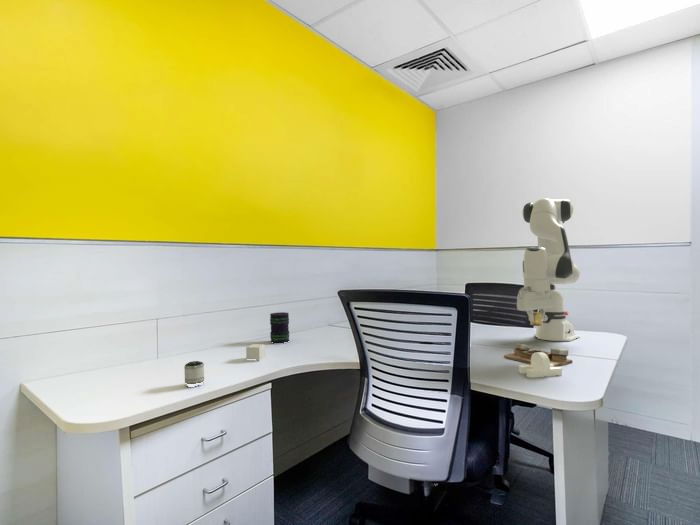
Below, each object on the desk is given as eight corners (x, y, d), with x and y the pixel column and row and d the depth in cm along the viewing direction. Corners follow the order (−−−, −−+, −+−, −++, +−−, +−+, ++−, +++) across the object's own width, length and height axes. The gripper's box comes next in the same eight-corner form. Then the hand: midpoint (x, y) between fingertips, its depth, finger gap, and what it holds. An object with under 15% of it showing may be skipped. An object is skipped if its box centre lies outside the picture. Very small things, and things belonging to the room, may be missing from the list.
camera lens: (203, 381, 137) (202, 359, 137) (205, 386, 132) (205, 363, 132) (184, 384, 134) (183, 361, 134) (185, 389, 129) (185, 365, 129)
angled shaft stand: (551, 357, 155) (550, 347, 155) (568, 359, 152) (567, 348, 152) (550, 360, 152) (550, 349, 152) (567, 361, 149) (567, 351, 149)
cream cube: (246, 361, 164) (246, 347, 164) (252, 357, 170) (252, 344, 170) (259, 361, 163) (259, 347, 163) (265, 358, 169) (265, 344, 169)
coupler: (544, 325, 155) (544, 312, 155) (538, 326, 153) (537, 313, 153) (534, 323, 159) (534, 311, 159) (528, 324, 157) (527, 312, 157)
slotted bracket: (549, 370, 143) (549, 349, 143) (563, 375, 136) (563, 353, 136) (518, 372, 140) (517, 351, 140) (530, 378, 133) (530, 356, 133)
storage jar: (290, 339, 207) (289, 312, 207) (288, 343, 198) (288, 314, 198) (271, 340, 207) (271, 312, 207) (269, 344, 197) (268, 315, 197)
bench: (527, 352, 169) (526, 340, 169) (572, 362, 151) (572, 349, 151) (504, 357, 161) (503, 345, 161) (549, 368, 144) (548, 354, 144)
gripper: (526, 288, 148) (527, 323, 148) (558, 285, 158) (558, 318, 158) (512, 287, 154) (512, 321, 154) (543, 284, 164) (544, 317, 164)
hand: (536, 320), depth 156 cm, fingers closed on coupler, 4 cm apart
